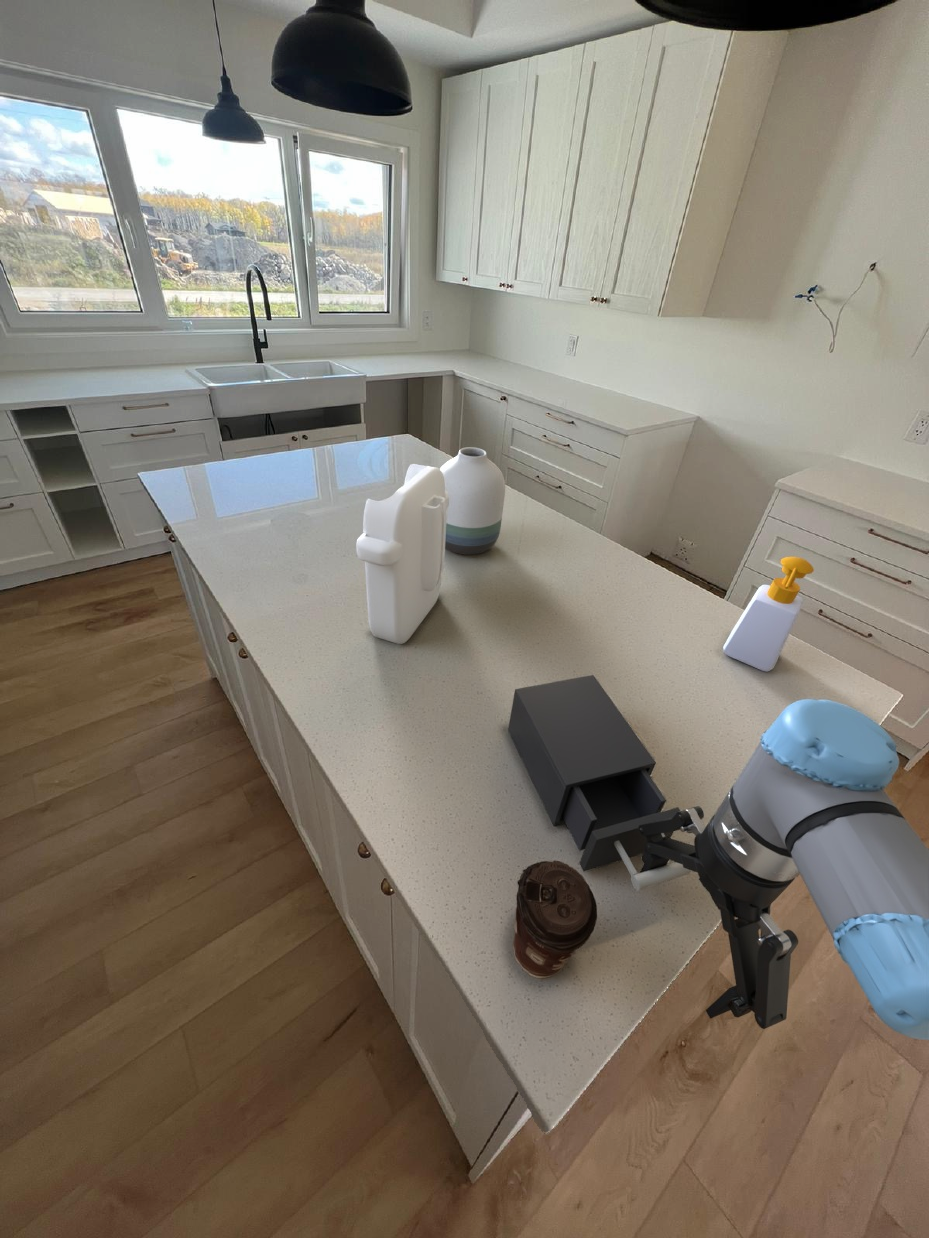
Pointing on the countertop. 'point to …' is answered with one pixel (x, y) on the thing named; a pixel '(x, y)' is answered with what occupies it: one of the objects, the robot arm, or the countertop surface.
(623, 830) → the grey drawer with handle
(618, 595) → the countertop surface
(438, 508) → the white jerry can
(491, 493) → the vase
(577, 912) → the coffee cup
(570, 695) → the black drawer box
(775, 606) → the soap bottle
